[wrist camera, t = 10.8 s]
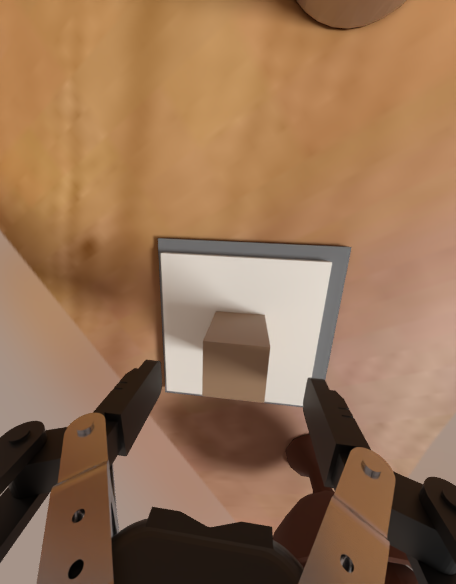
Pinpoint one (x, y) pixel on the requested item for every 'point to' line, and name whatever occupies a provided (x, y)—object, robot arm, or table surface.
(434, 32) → the table surface
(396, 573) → the ice cream bowl
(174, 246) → the mat
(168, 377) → the lid
